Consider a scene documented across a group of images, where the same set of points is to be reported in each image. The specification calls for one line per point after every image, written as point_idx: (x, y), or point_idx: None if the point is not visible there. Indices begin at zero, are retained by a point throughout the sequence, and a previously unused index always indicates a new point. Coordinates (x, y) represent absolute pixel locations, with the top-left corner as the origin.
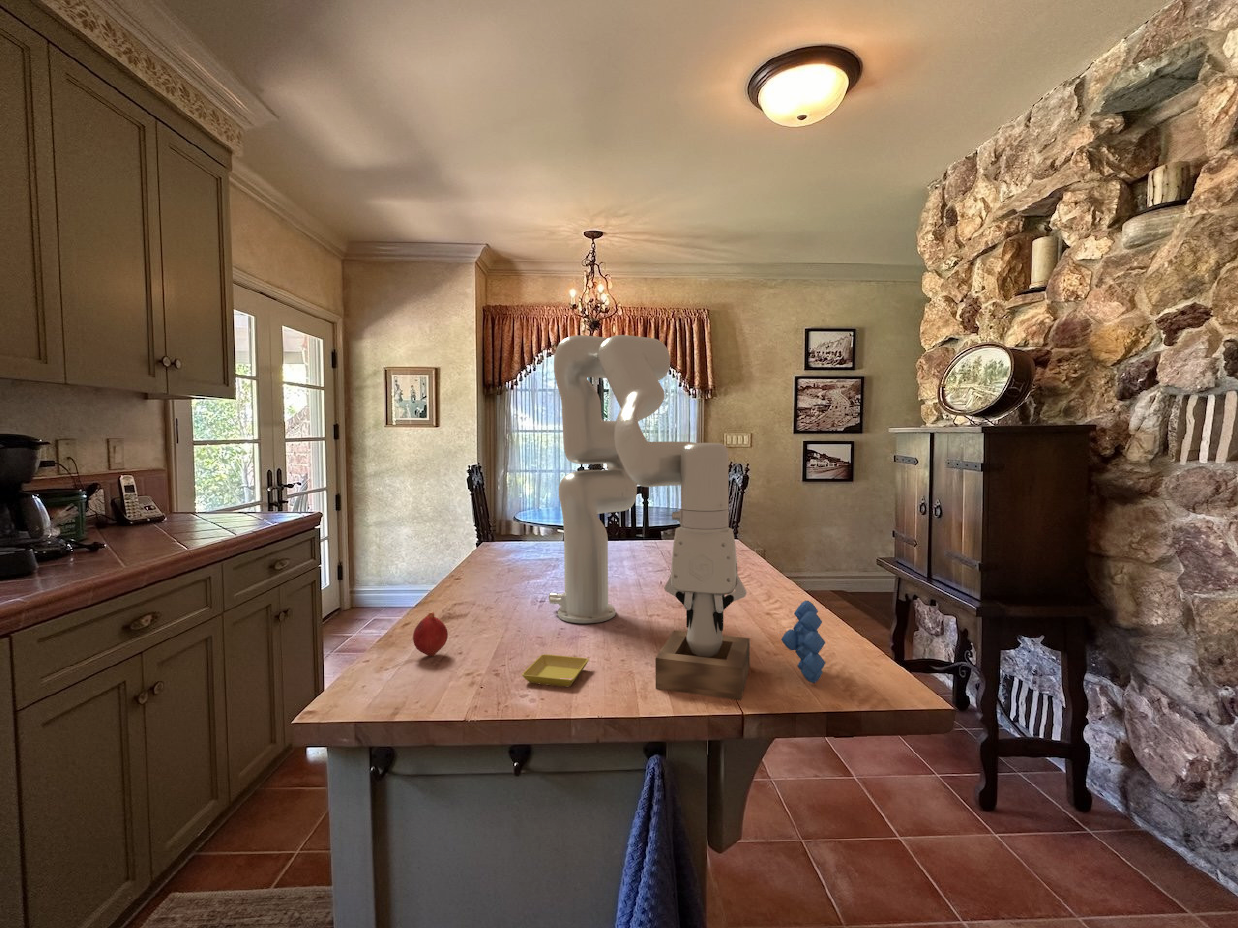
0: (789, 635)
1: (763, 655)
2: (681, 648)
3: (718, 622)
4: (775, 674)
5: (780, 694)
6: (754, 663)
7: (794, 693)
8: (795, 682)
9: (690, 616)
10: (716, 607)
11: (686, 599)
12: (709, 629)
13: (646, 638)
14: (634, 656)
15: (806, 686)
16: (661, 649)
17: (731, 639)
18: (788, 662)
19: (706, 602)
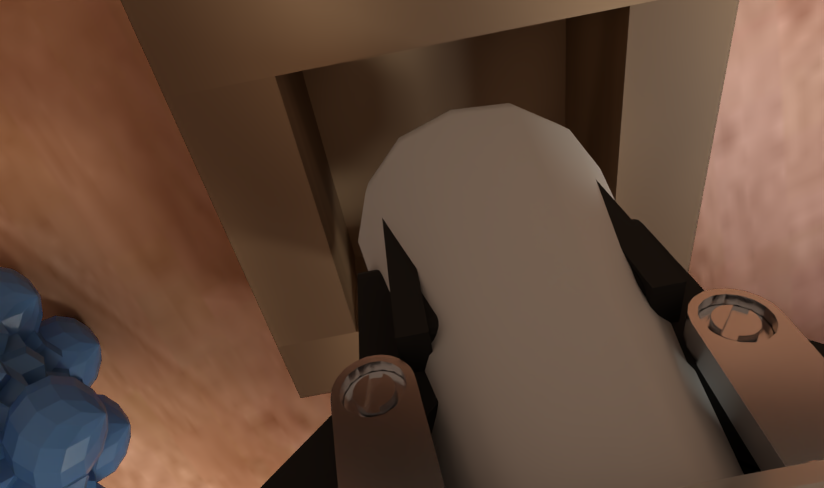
0: (37, 439)
1: None
2: None
3: (388, 303)
4: (188, 285)
5: (60, 119)
6: None
7: (18, 159)
8: (81, 257)
9: (647, 246)
10: (408, 393)
11: (808, 377)
12: (435, 201)
13: None
14: (788, 177)
15: (23, 244)
16: (729, 36)
17: None
18: (200, 388)
19: (537, 404)
